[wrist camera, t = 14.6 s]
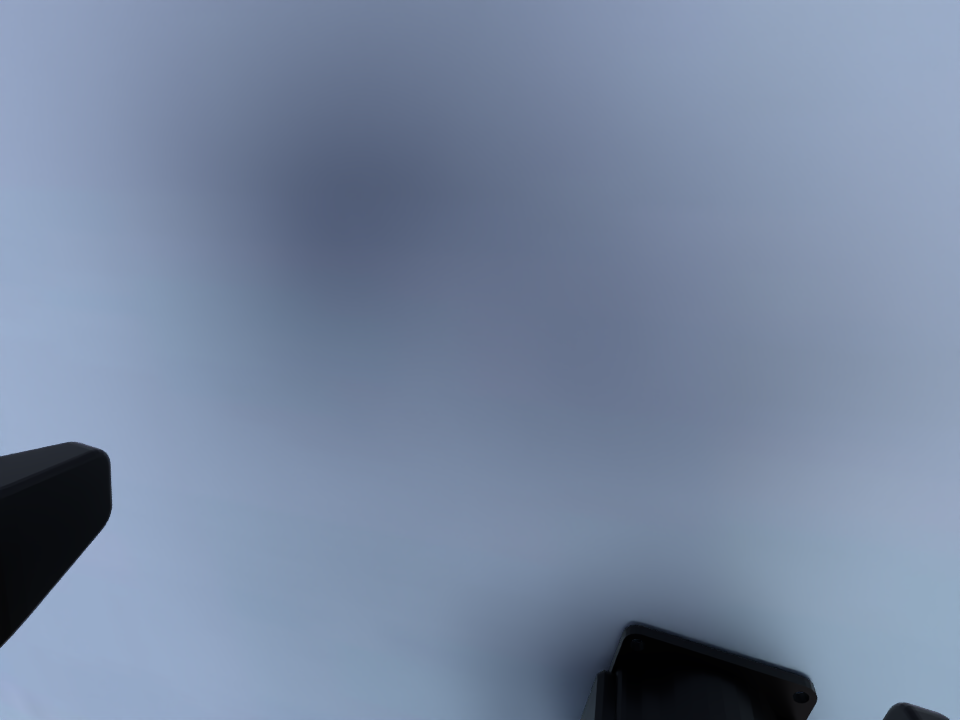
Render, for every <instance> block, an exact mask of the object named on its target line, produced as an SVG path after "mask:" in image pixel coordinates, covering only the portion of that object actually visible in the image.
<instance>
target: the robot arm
mask: <svg viewBox="0 0 960 720" xmlns="http://www.w3.org/2000/svg"><path fill="white" fill-rule="evenodd" d="M111 510H112V488H111V464H110V459H109V457H108V455H107V453H106V452H104V451H103V450H101V449H98V448H95V447H92V446H89V445H85V444H82V443H78V442H66V443H62V444H57V445H52V446H47V447H43V448H38V449H33V450H29V451H24V452H19V453H14V454H10V455H5V456H0V648H1V647H2V646H3V645H4V644H5V643H6V642H7V641H8V640H9V638H10V637H11V636H12V635H13V634H14V633H15V632H16V631H17V630H18V629H19V627H20V626H21V625H22V624H23V623H24V622H25V621H26V620H27V618H28V617H29V616H30V615H31V614H32V613H33V611H34V610H35V609H36V608H37V607H38V605H39V604H40V603H41V602H42V601H43V599H44V598H45V597H46V596H47V595H48V594H49V592H50V591H51V590H52V589H53V588H54V586H55V585H56V584H57V583H58V582H59V580H60V579H61V578H62V577H63V576H64V574H65V573H66V572H67V571H68V570H69V569H70V567H71V566H72V565H73V564H74V563H75V561H76V560H77V559H78V558H79V557H80V555H81V554H82V553H83V552H84V551H85V549H86V548H87V547H88V546H89V545H90V544H91V542H92V541H93V540H94V539H95V538H96V536H97V535H98V534H99V533H100V532H101V530H102V529H103V528H104V526H105V525H106V523H107V521H108V519H109V517H110V514H111ZM634 639H639V640H641V641H642V642H634V641H633V640H634ZM799 691H800V692H804V693H800V694H799V693H796V692H799ZM816 702H817V695H816V692H815V688H814V685H813V683H812V682H811V681H810V680H809V679H807V678H804V677H802V676H798V675H795V674H792V673H789V672H786V671H783V670H779V669H776V668H773V667H770V666H767V665H764V664H760V663H757V662H754V661H751V660H748V659H745V658H741V657H738V656H735V655H732V654H729V653H726V652H722V651H719V650H716V649H713V648H710V647H707V646H704V645H700V644H697V643H694V642H691V641H688V640H685V639H681V638H678V637H675V636H672V635H669V634H666V633H662V632H659V631H656V630H653V629H650V628H647V627H643V626H639V625H632V626H629V627H627V628H626V629H625V630H624V632H623V634H622V637H621V639H620V642H619V645H618V647H617V650H616V653H615V655H614V658H613V661H612V663H611V666H610V669H609V671H606V670H603V671H601V672H600V673H598V674H597V676H596V678H595V681H594V684H593V686H592V689H591V692H590V695H589V697H588V700H587V703H586V706H585V708H584V711H583V714H582V716H581V720H807V718H808V716H809V715H810V713H811V711H812V709H813V708H814V706H815V704H816ZM883 720H949V719H948V718H947V717H946V716H944V715H942V714H940V713H938V712H935V711H932V710H928V709H925V708H922V707H919V706H916V705H912V704H909V703H897V704H895V705H893V706H892V707H891V708H890V709H889V711H888V712H887V714H886V715H885V717H884V719H883Z"/></svg>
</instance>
